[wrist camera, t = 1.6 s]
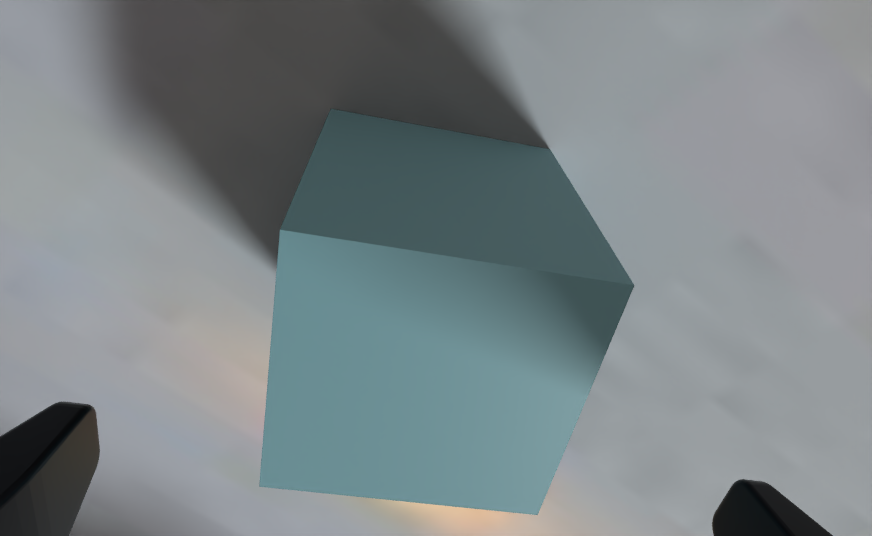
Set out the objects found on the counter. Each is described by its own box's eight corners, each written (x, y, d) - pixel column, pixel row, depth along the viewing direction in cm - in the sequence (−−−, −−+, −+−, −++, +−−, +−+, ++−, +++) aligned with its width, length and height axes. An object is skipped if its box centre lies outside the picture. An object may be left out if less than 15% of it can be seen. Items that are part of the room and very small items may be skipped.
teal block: (496, 324, 16) (537, 515, 11) (309, 298, 16) (258, 486, 10) (549, 148, 14) (634, 285, 9) (331, 108, 13) (279, 229, 8)
